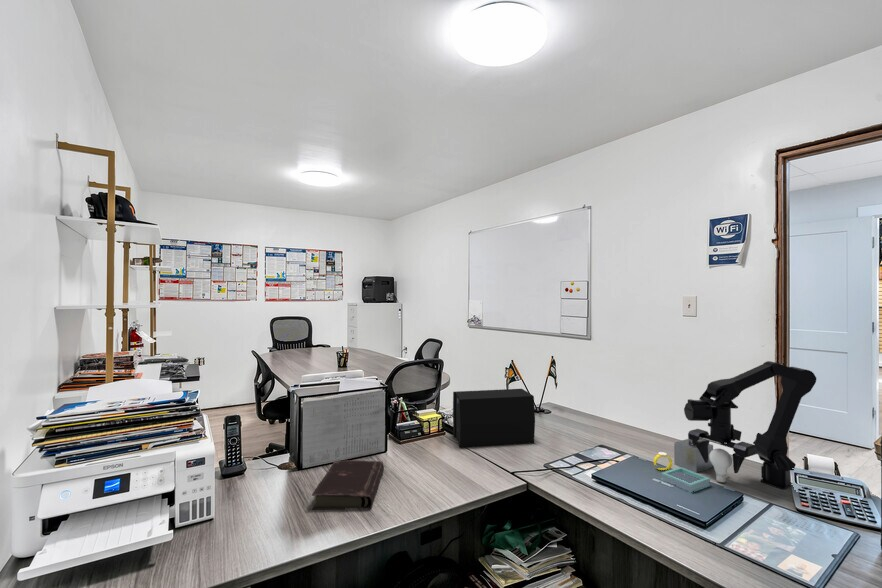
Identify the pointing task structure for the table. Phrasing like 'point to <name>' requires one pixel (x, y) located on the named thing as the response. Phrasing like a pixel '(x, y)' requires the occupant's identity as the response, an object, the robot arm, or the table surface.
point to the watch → (662, 454)
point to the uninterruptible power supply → (493, 417)
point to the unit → (690, 456)
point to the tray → (685, 471)
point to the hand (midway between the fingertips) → (720, 467)
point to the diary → (348, 485)
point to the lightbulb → (720, 463)
